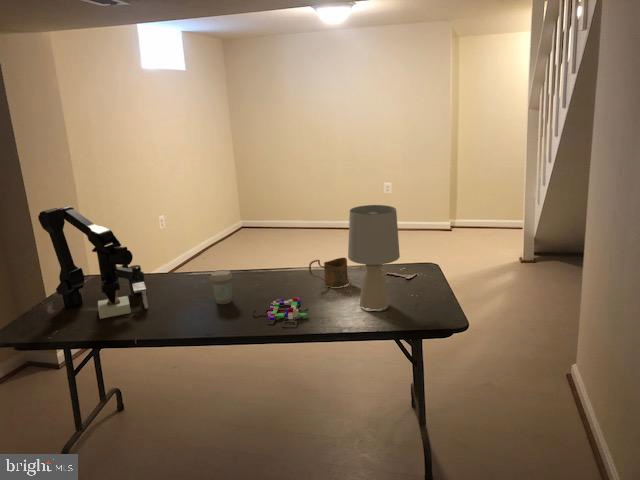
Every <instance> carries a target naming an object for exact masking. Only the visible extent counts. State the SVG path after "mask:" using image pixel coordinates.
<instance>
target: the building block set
mask: <svg viewBox="0 0 640 480" xmlns="http://www.w3.org/2000/svg"><path fill="white" fill-rule="evenodd" d="M281 299H282V298H276V300H274V301H273V302H272V304H273V305H275V306H270V309H273V311H268V312H267V314H268V316H267V319H268V318H269V319H270V320H274V319H275V318H284V317H288V319H293V317H297V316H298V317H299V316H307V317H308V313H307V312H299V310H298V309H296V308H297V307H298V306H297V305H298V304H300V305H301V303H300V302H301V299H300V297H293V298H292V299H288V300H283V301H281ZM280 305H291V307H290V308H287V309H286V311H284V312H285V313H278V314H277V311H278V308H279V306H280ZM278 312H279V311H278Z"/></svg>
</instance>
